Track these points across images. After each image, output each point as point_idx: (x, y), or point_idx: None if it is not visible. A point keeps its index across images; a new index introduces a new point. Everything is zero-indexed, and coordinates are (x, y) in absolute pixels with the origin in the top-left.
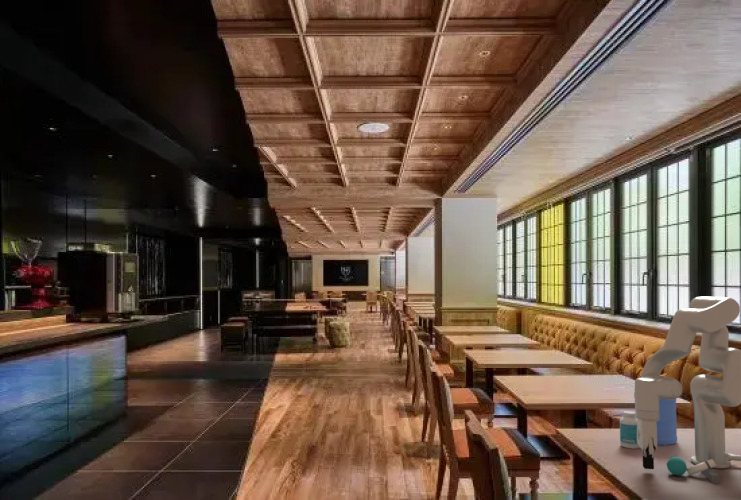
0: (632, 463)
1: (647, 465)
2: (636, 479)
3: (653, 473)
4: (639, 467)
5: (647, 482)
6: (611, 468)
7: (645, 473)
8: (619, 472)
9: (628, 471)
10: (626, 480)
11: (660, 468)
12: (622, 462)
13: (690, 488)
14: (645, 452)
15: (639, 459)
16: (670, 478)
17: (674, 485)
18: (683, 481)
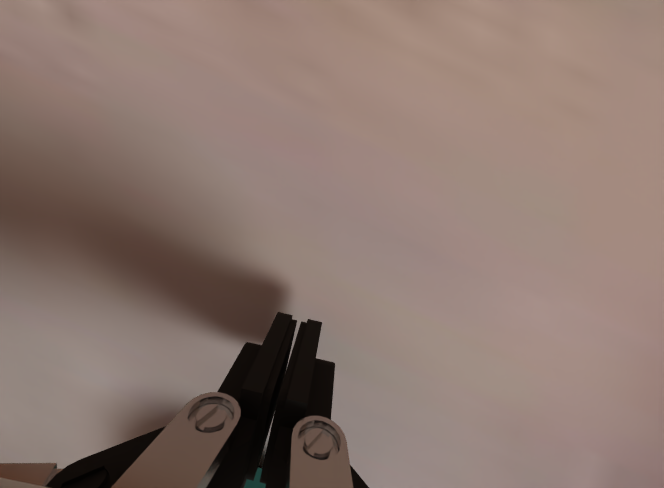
0: (556, 312)
1: (244, 351)
2: (111, 151)
3: None
4: (438, 321)
5: (53, 213)
6: (429, 25)
7: (280, 299)
8: (297, 65)
9: (330, 174)
10: (62, 36)
11: (402, 455)
12: (605, 234)
13: (4, 434)
14: (138, 466)
15: (652, 415)
16: None
17: (36, 372)
18: None
